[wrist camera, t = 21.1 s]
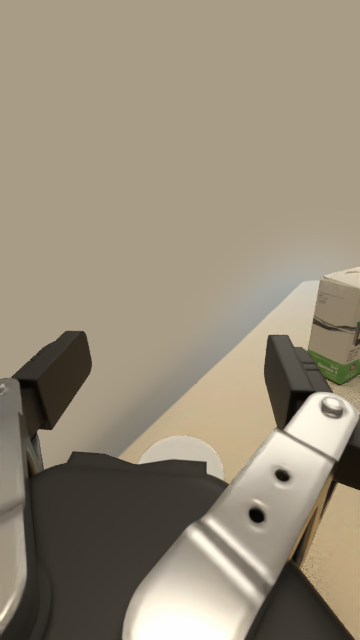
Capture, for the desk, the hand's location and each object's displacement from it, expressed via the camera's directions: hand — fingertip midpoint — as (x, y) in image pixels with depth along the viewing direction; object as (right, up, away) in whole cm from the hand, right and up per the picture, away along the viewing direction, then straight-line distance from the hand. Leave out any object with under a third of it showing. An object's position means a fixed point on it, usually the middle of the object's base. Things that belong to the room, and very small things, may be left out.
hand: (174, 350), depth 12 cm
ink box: (+21, -5, +23) cm, 32 cm away
